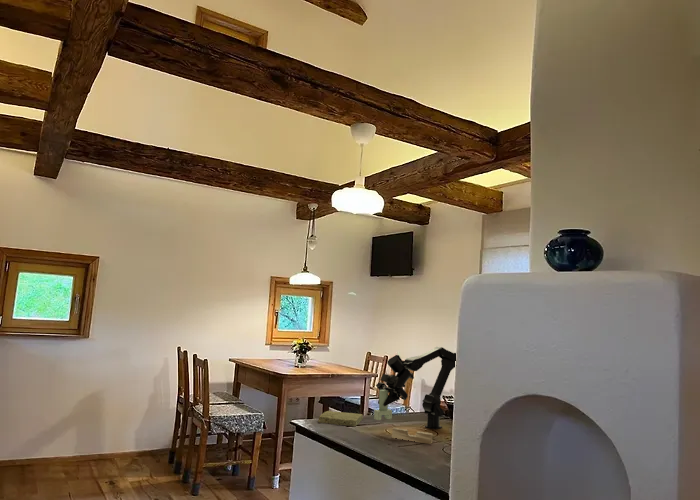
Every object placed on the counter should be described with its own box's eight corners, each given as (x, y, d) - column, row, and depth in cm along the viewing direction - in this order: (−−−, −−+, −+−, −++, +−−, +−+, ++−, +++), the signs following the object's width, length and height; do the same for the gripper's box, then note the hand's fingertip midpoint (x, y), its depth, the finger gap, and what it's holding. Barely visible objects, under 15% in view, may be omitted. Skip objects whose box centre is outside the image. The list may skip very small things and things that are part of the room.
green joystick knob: (387, 417, 253) (388, 389, 254) (392, 418, 250) (393, 390, 251) (373, 418, 249) (374, 390, 250) (378, 420, 245) (379, 391, 247)
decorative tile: (325, 416, 282) (325, 409, 283) (363, 419, 278) (363, 412, 279) (316, 424, 264) (316, 416, 265) (356, 427, 260) (356, 419, 260)
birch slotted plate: (394, 436, 242) (394, 427, 243) (432, 442, 234) (432, 433, 235) (392, 437, 240) (392, 428, 240) (430, 444, 232) (430, 434, 232)
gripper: (379, 365, 261) (360, 389, 255) (403, 370, 246) (383, 396, 239) (392, 381, 265) (373, 405, 258) (416, 386, 249) (396, 412, 242)
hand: (381, 404), depth 249 cm, fingers closed on green joystick knob, 4 cm apart
